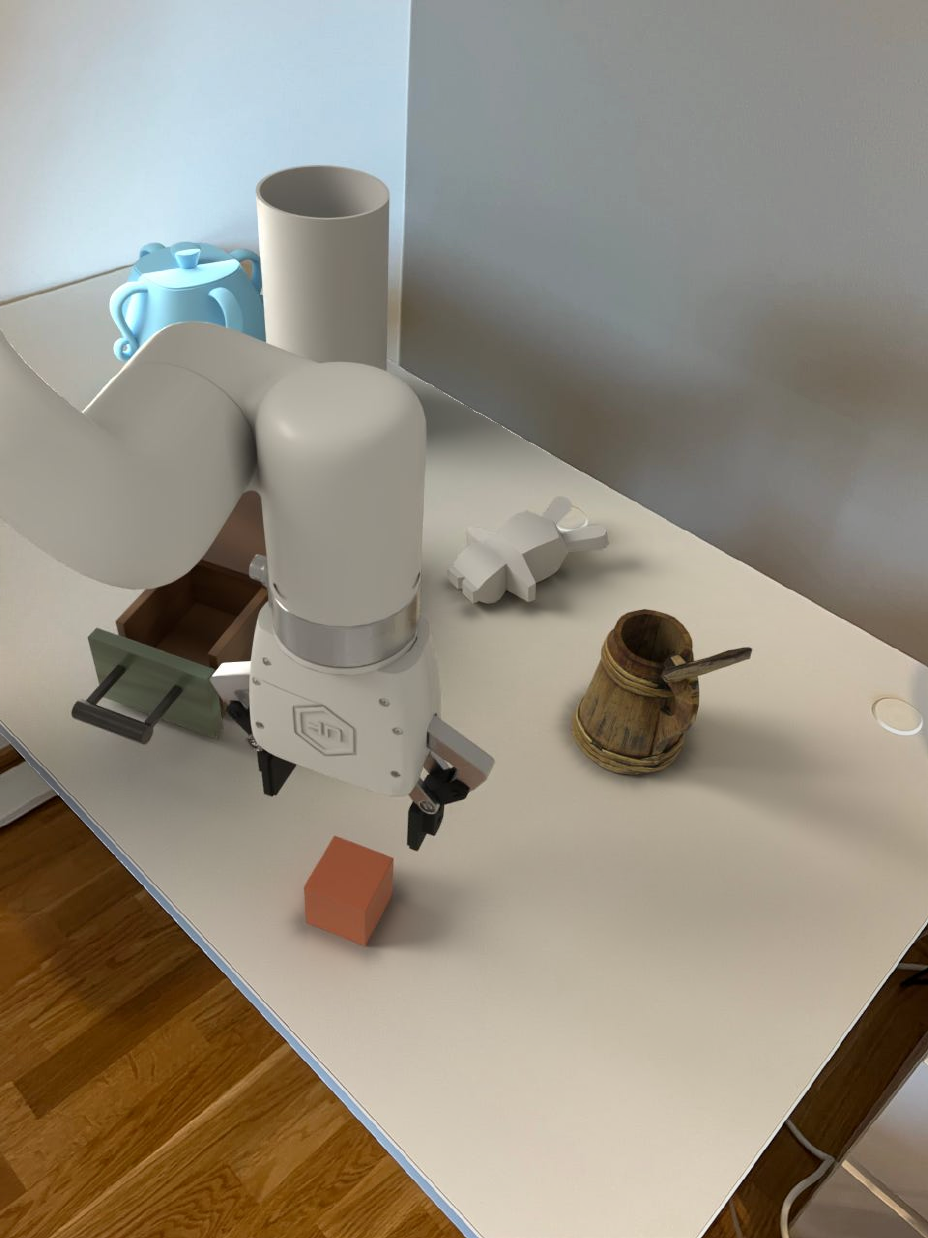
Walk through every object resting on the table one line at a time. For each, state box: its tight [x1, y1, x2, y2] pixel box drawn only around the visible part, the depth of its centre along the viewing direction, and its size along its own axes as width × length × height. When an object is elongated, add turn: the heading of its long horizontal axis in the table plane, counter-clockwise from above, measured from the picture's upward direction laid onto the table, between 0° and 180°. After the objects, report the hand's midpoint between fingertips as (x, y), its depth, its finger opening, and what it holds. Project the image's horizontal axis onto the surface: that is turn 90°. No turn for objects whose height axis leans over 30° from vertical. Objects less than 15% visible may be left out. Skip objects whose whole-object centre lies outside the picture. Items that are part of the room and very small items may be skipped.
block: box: [303, 835, 395, 947], centre depth 73 cm, size 4×4×4 cm
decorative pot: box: [109, 241, 266, 363], centre depth 120 cm, size 16×16×14 cm
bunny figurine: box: [447, 495, 610, 605], centre depth 100 cm, size 10×5×15 cm
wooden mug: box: [570, 608, 753, 776], centre depth 80 cm, size 9×14×18 cm, turn 20°
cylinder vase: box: [255, 164, 391, 371], centre depth 109 cm, size 12×12×25 cm
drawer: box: [71, 564, 269, 746], centre depth 84 cm, size 18×10×7 cm, turn 158°
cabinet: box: [197, 490, 267, 587], centre depth 94 cm, size 14×12×9 cm
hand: (350, 805), depth 66 cm, fingers open, 9 cm apart
